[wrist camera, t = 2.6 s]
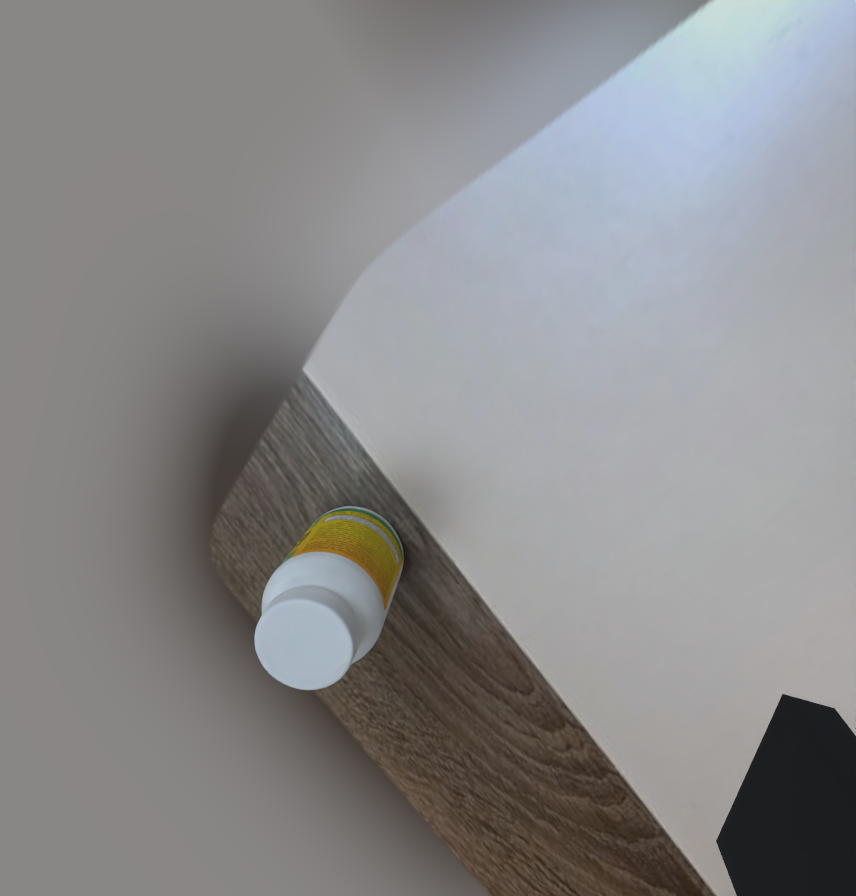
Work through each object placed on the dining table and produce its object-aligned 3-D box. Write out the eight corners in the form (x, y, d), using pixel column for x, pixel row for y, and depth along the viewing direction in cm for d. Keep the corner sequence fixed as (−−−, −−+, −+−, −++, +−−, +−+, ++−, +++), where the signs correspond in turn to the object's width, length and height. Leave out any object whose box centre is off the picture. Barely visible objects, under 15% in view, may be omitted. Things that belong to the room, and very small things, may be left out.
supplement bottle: (395, 607, 36) (358, 722, 27) (298, 585, 36) (228, 690, 27) (414, 515, 35) (381, 602, 25) (313, 492, 35) (245, 570, 26)
